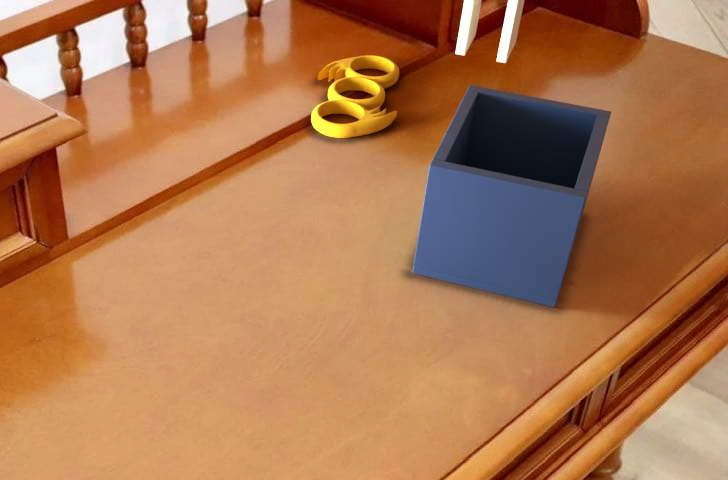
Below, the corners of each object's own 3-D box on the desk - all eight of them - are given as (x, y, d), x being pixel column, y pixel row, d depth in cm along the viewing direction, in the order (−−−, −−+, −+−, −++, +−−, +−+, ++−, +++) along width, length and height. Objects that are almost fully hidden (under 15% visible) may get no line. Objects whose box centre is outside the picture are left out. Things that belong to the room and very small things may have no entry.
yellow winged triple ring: (423, 75, 119) (335, 58, 122) (425, 61, 118) (336, 45, 121) (378, 150, 108) (283, 129, 111) (380, 136, 107) (284, 116, 110)
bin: (450, 189, 103) (469, 84, 96) (581, 217, 99) (611, 111, 92) (412, 273, 93) (429, 164, 86) (555, 308, 90) (586, 197, 83)
